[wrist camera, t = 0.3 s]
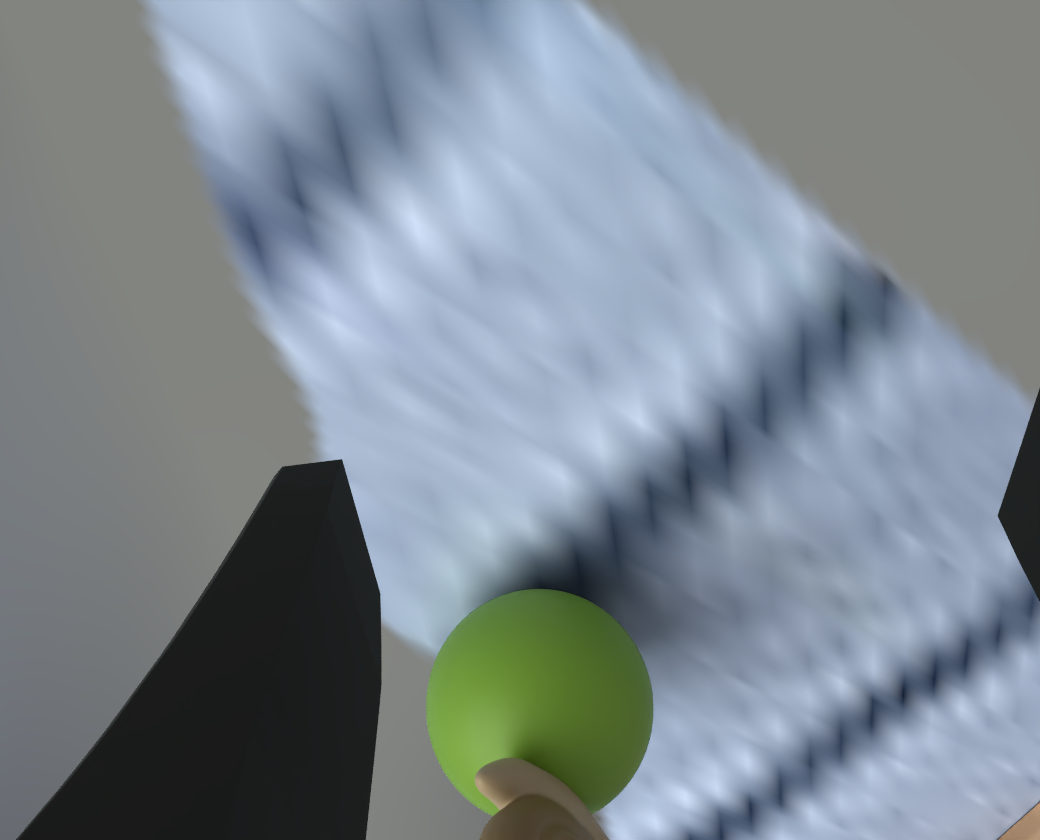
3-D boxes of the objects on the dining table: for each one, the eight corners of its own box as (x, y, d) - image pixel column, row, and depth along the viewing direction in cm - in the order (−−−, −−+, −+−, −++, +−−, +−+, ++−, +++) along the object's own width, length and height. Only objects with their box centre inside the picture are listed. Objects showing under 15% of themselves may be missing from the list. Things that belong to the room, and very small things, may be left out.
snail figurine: (531, 746, 26) (585, 1293, 16) (386, 617, 24) (333, 1172, 13) (688, 656, 25) (860, 1187, 14) (553, 508, 22) (643, 1028, 12)
